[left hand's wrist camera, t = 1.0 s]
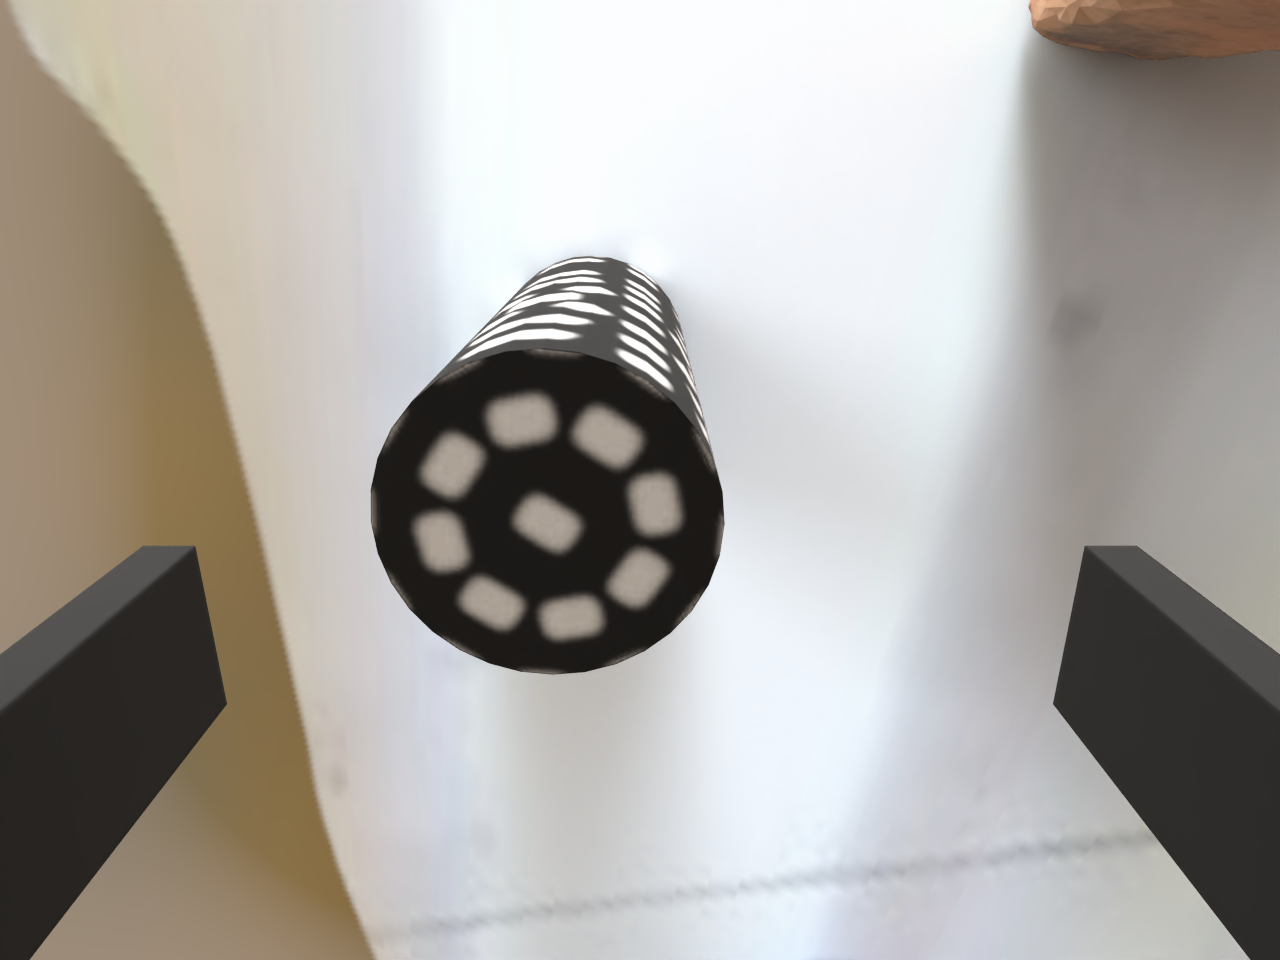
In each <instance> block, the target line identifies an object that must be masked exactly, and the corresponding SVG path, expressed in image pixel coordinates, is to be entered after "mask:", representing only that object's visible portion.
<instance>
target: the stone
mask: <svg viewBox="0 0 1280 960" xmlns="http://www.w3.org/2000/svg"><path fill="white" fill-rule="evenodd" d="M1028 7H1029V9H1030V11H1031V18H1032V25H1033V28H1034V29H1035V30H1036V31H1037V32H1039V33H1040V34H1041V35H1042V36H1043V37H1045V38H1048V39H1050V40H1052V41H1054V42H1056V43H1059V44H1063V45H1068V46H1073V47H1078V48H1083V49H1088V50H1093V51H1100V52H1118V53H1124V54H1127V55H1130V56H1133V57H1136V58H1139V59H1152V60H1163V59H1171V58H1179V57H1186V56H1194V57H1203V58H1216V57H1224V56H1229V55H1236V54H1245V53H1253V52H1258V51H1263V50H1280V0H1030V3H1029V6H1028Z"/></svg>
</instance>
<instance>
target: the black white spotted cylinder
mask: <svg viewBox="0 0 1280 960" xmlns="http://www.w3.org/2000/svg"><path fill="white" fill-rule="evenodd" d="M371 524H372V529H373V533H374V538H375V542H376V547H377V551H378V555H379V557H380V559H381V561H382V564H383V566H384V568H385V570H386V573H387V575H388V577H389V579H390V582H391V583H392V585H393V586H394V588H395V589H396V590H397V592H398V593H399V595H400V596H401V598H402V599H403V600H404V602H405V603H406V605H407V606H408V608H409V609H410V610H411V611H412V612H413V613H414V614H415V615H416V616H417V617H418V618H419V619H420V620H421V621H422V622H423V623H424V624H425V625H426V626H427V627H428V628H429V629H431V630H432V631H433V632H434V633H435V634H437V635H438V636H440V637H441V638H443V639H444V640H446V641H447V642H449V643H450V644H452V645H453V646H455V647H456V648H458V649H459V650H461V651H463V652H465V653H468V654H470V655H472V656H474V657H476V658H479V659H481V660H483V661H485V662H487V663H490V664H494V665H498V666H501V667H505V668H509V669H513V670H517V671H520V672H531V673H542V674H566V673H578V672H587V671H591V670H595V669H599V668H603V667H606V666H610V665H614V664H617V663H619V662H622V661H624V660H626V659H628V658H630V657H633V656H635V655H637V654H639V653H641V652H644V651H645V650H647V649H648V648H650V647H651V646H653V645H654V644H655V643H657V642H658V641H660V640H661V639H663V638H664V637H665V636H667V635H668V634H670V633H671V632H672V631H673V630H674V629H675V628H676V627H677V626H678V625H679V624H680V623H681V622H682V620H683V619H684V618H685V617H686V616H687V615H688V614H689V613H690V612H691V611H692V610H693V608H694V607H695V605H696V604H697V602H698V600H699V599H700V597H701V596H702V594H703V593H704V591H705V590H706V588H707V586H708V585H709V582H710V580H711V577H712V574H713V572H714V569H715V567H716V564H717V561H718V559H719V556H720V550H721V544H722V537H723V530H724V509H723V493H722V489H721V485H720V481H719V477H718V473H717V469H716V465H715V461H714V457H713V453H712V449H711V445H710V441H709V437H708V433H707V429H706V425H705V421H704V417H703V413H702V409H701V405H700V401H699V397H698V393H697V389H696V385H695V381H694V377H693V373H692V369H691V365H690V361H689V357H688V353H687V349H686V345H685V342H684V338H683V334H682V330H681V326H680V323H679V319H678V316H677V313H676V311H675V309H674V307H673V305H672V304H671V302H670V300H669V298H668V297H667V296H666V294H665V293H664V292H663V290H662V289H661V288H660V287H659V285H658V284H657V283H655V282H654V281H653V280H652V279H651V278H650V277H648V276H647V275H646V274H645V273H644V272H642V271H640V270H638V269H636V268H635V267H633V266H631V265H629V264H627V263H624V262H621V261H618V260H615V259H612V258H606V257H597V256H585V257H574V258H570V259H567V260H564V261H560V262H557V263H555V264H553V265H551V266H549V267H547V268H545V269H544V270H542V271H540V272H539V273H537V274H536V275H535V276H534V277H533V278H532V279H530V280H529V281H528V282H527V283H526V284H525V285H524V286H523V287H522V288H521V289H520V290H519V291H518V292H517V293H516V294H515V295H514V296H513V297H512V298H511V299H510V300H509V301H508V302H507V303H506V304H505V306H504V307H503V308H502V309H501V310H500V311H499V312H498V313H497V314H496V315H495V316H494V317H493V318H492V319H491V320H490V321H489V322H488V323H487V324H486V325H485V326H484V327H483V328H482V329H481V330H480V331H479V332H478V333H477V334H476V336H475V337H474V338H473V339H472V340H471V341H470V342H469V343H468V344H467V345H466V346H465V347H464V348H463V349H462V350H461V351H460V352H459V353H458V354H457V355H456V356H455V357H454V358H453V359H452V360H451V361H450V362H449V363H448V364H447V366H446V367H445V368H444V369H443V370H442V371H441V372H440V373H439V374H438V375H437V376H436V377H435V378H434V379H433V380H432V381H431V382H430V383H429V384H428V385H427V386H426V387H425V388H424V389H423V390H422V391H421V392H420V393H419V394H418V396H417V397H416V398H415V399H414V400H413V401H412V402H411V403H410V404H409V406H408V407H407V408H406V410H405V411H404V412H403V414H402V415H401V416H400V418H399V419H398V420H397V422H396V423H395V424H394V425H393V427H392V428H391V430H390V432H389V435H388V437H387V439H386V441H385V443H384V445H383V448H382V450H381V452H380V454H379V456H378V459H377V463H376V468H375V473H374V477H373V482H372V487H371Z"/></svg>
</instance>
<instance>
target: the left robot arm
mask: <svg viewBox="0 0 1280 960" xmlns="http://www.w3.org/2000/svg"><path fill="white" fill-rule="evenodd" d="M226 704H227V702H226V697H225V692H224V687H223V682H222V677H221V672H220V667H219V662H218V657H217V652H216V647H215V642H214V637H213V632H212V627H211V622H210V617H209V613H208V608H207V602H206V598H205V592H204V588H203V583H202V578H201V573H200V568H199V563H198V558H197V553H196V548H195V546H143V547H141V548H140V549H139V550H137V551H136V552H135V553H133V554H132V555H131V556H129V557H128V558H127V559H125V560H124V561H123V562H121V563H120V564H119V565H117V566H116V567H115V568H113V569H112V570H111V571H110V572H108V573H107V574H106V575H104V576H103V577H102V578H100V579H99V580H98V581H96V582H95V583H94V584H92V585H91V586H90V587H89V588H87V589H86V590H85V591H83V592H82V593H81V594H79V595H78V596H77V597H75V598H74V599H73V600H71V601H70V602H69V603H67V604H66V605H65V606H64V607H62V608H61V609H59V610H58V611H57V612H56V613H54V614H53V615H52V616H50V617H49V618H48V619H46V620H45V621H44V622H42V623H41V624H40V625H38V626H37V627H36V628H34V629H33V630H32V631H30V632H29V633H28V634H27V635H25V636H24V637H23V638H21V639H20V640H19V641H17V642H16V643H15V644H13V645H12V646H11V647H9V648H8V649H7V650H5V651H4V652H3V653H2V654H0V960H30V958H31V957H32V956H33V955H34V953H35V952H36V951H37V949H38V948H39V947H40V945H41V944H42V943H43V942H44V940H45V939H46V938H47V936H48V935H49V934H50V933H51V931H52V930H53V929H54V927H55V926H56V925H57V923H58V922H59V921H60V920H61V918H62V917H63V916H64V914H65V913H66V912H67V911H68V909H69V908H70V907H71V905H72V904H73V903H74V901H75V900H76V899H77V898H78V896H79V895H80V894H81V892H82V891H83V890H84V888H85V887H86V886H87V885H88V883H89V882H90V881H91V879H92V878H93V877H94V876H95V874H96V873H97V872H98V870H99V869H100V868H101V866H102V865H103V864H104V863H105V861H106V860H107V859H108V857H109V856H110V855H111V853H112V852H113V851H114V850H115V848H116V847H117V846H118V844H119V843H120V842H121V841H122V839H123V838H124V837H125V835H126V834H127V833H128V831H129V830H130V829H131V828H132V826H133V825H134V824H135V822H136V821H137V820H138V819H139V817H140V816H141V815H142V813H143V812H144V811H145V809H146V808H147V807H148V806H149V804H150V803H151V802H152V800H153V799H154V798H155V797H156V795H157V794H158V793H159V791H160V790H161V789H162V787H163V786H164V785H165V784H166V782H167V781H168V780H169V778H170V777H171V776H172V774H173V773H174V772H175V771H176V769H177V768H178V767H179V765H180V764H181V763H182V762H183V760H184V759H185V758H186V756H187V755H188V754H189V752H190V751H191V750H192V749H193V747H194V746H195V745H196V743H197V742H198V741H199V739H200V738H201V737H202V736H203V734H204V733H205V732H206V730H207V729H208V728H209V727H210V725H211V724H212V723H213V721H214V720H215V719H216V717H217V716H218V715H219V714H220V712H221V711H222V710H223V708H224V707H225V706H226ZM1053 705H1054V706H1055V707H1056V708H1057V710H1058V711H1059V712H1060V714H1061V715H1062V716H1063V717H1064V719H1065V720H1066V721H1067V723H1068V724H1069V725H1070V727H1071V728H1072V729H1073V730H1074V732H1075V733H1076V734H1077V736H1078V737H1079V738H1080V740H1081V741H1082V742H1083V743H1084V745H1085V746H1086V747H1087V749H1088V750H1089V751H1090V752H1091V754H1092V755H1093V756H1094V758H1095V759H1096V760H1097V762H1098V763H1099V764H1100V765H1101V767H1102V768H1103V769H1104V771H1105V772H1106V773H1107V774H1108V776H1109V777H1110V778H1111V780H1112V781H1113V782H1114V784H1115V785H1116V786H1117V787H1118V789H1119V790H1120V791H1121V793H1122V794H1123V795H1124V797H1125V798H1126V799H1127V800H1128V802H1129V803H1130V804H1131V806H1132V807H1133V808H1134V809H1135V811H1136V812H1137V813H1138V815H1139V816H1140V817H1141V819H1142V820H1143V821H1144V822H1145V824H1146V825H1147V826H1148V828H1149V829H1150V830H1151V831H1152V833H1153V834H1154V835H1155V837H1156V838H1157V839H1158V841H1159V842H1160V843H1161V844H1162V846H1163V847H1164V848H1165V850H1166V851H1167V852H1168V854H1169V855H1170V856H1171V857H1172V859H1173V860H1174V861H1175V863H1176V864H1177V865H1178V866H1179V868H1180V869H1181V870H1182V872H1183V873H1184V874H1185V876H1186V877H1187V878H1188V879H1189V881H1190V882H1191V883H1192V885H1193V886H1194V887H1195V888H1196V890H1197V891H1198V892H1199V894H1200V895H1201V896H1202V898H1203V899H1204V900H1205V901H1206V903H1207V904H1208V905H1209V907H1210V908H1211V909H1212V911H1213V912H1214V913H1215V914H1216V916H1217V917H1218V918H1219V920H1220V921H1221V922H1222V923H1223V925H1224V926H1225V927H1226V929H1227V930H1228V931H1229V933H1230V934H1231V935H1232V936H1233V938H1234V939H1235V940H1236V942H1237V943H1238V944H1239V945H1240V947H1241V948H1242V949H1243V951H1244V952H1245V953H1246V955H1247V956H1248V957H1249V958H1250V960H1280V654H1278V653H1277V652H1276V651H1275V650H1273V649H1272V648H1271V647H1269V646H1268V645H1267V644H1265V643H1264V642H1263V641H1261V640H1260V639H1259V638H1257V637H1256V636H1255V635H1253V634H1252V633H1251V632H1250V631H1248V630H1247V629H1246V628H1244V627H1243V626H1242V625H1240V624H1239V623H1238V622H1236V621H1235V620H1234V619H1232V618H1231V617H1230V616H1228V615H1227V614H1226V613H1224V612H1223V611H1222V610H1221V609H1219V608H1218V607H1217V606H1215V605H1214V604H1213V603H1211V602H1210V601H1209V600H1207V599H1206V598H1205V597H1203V596H1202V595H1201V594H1199V593H1198V592H1197V591H1195V590H1194V589H1193V588H1192V587H1190V586H1189V585H1188V584H1186V583H1185V582H1184V581H1182V580H1181V579H1180V578H1178V577H1177V576H1176V575H1174V574H1173V573H1172V572H1170V571H1169V570H1168V569H1167V568H1165V567H1164V566H1163V565H1161V564H1160V563H1159V562H1157V561H1156V560H1155V559H1153V558H1152V557H1151V556H1149V555H1148V554H1147V553H1145V552H1144V551H1143V550H1141V549H1140V548H1139V547H1138V546H1085V548H1084V553H1083V558H1082V563H1081V568H1080V573H1079V578H1078V583H1077V588H1076V592H1075V597H1074V602H1073V607H1072V612H1071V617H1070V622H1069V627H1068V632H1067V637H1066V642H1065V647H1064V652H1063V657H1062V662H1061V667H1060V672H1059V677H1058V682H1057V687H1056V692H1055V697H1054V702H1053Z"/></svg>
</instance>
